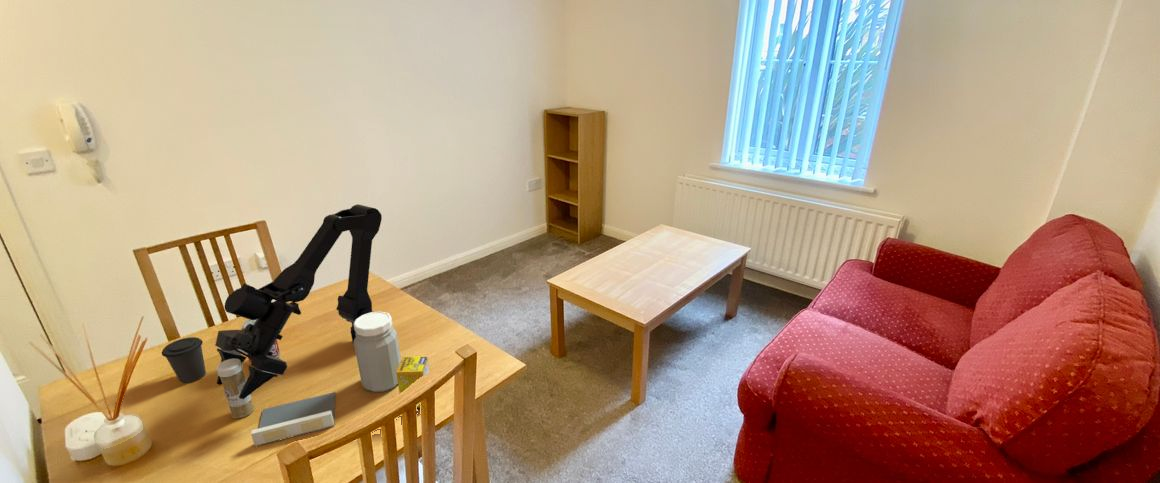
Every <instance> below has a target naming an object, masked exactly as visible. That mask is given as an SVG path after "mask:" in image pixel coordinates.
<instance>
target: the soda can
mask: <svg viewBox="0 0 1160 483" xmlns="http://www.w3.org/2000/svg"><path fill="white" fill-rule="evenodd" d="M256 320H257V319H256ZM256 320H250V319H247V320H246V321H244V322H243V323H242V325H241V327H242V328H241V330H244V329H245V328H246V326H247V325H249V324H252V325H254V323H255V321H256ZM270 351H271V352H273V354H272V357H276V358H279V359H280V357H281V353H280V351H281V350H280V348H279V344H278V339H276V341H275V343H274V344H273V346H272V348H271V349H270ZM249 353H250V352H249ZM247 358H248V357H247ZM248 361H249V363H250V365H251V366H252V359H250V358H248Z"/></svg>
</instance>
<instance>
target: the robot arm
mask: <svg viewBox="0 0 1160 483" xmlns="http://www.w3.org/2000/svg"><path fill="white" fill-rule="evenodd" d="M382 217H383V216H382V213H381V211H379V210H378V209H377V208H375V207H370V206H366V205H363V204H353V205H352V206H351V208H347V209H342V210H339V211H338V212H336V213H333V214H328V215H326V216H325V217H324V219H323V222H322V224H321V226H320V227H318V230H317V231H316V233H315V234H314V236H313V237H312V238H311V239H310V241H309V242H308V243H307V245H306V247H305V248H304V249H303V251H302V252H301V254H300V256H299V257H298V258H297V260H295V261H294V263H292V264H290V265H289V266H287V267H285V268H284V269H283V270H282V271H281V272H280V273H279V274H278V275H277V276H276V278H275V279H273V281H271V282H270V283H266V285H263V286H261V287H260V288H258V289H257V288H256V287H254V286H252V285H250V284H247V283H242V285H241V287H239V288H237V289H235V290H234V291H233V292H231V293H229V294H228V296H227V298H226V299H225V303H224V311H225V312H226V313H228V314H231V315H234V316H238V317H241V318H243V319H247V320H256V319H257V320H256V321H255V323H254V325H252V324H249V325H247V326H246V328H245V329H244V330H242V329H226V330H223V329H222V330H219V331H218V332H217V336H216V340H215V345H214V346H215V347H217V348H216V351H217V352H218V354H219V356H220V358H221V359H220V363H221V362H223V361H225V360H228V359H239V360H241V363H242V364H244V362H245V361H246V359H247V358H250V359H252V365H251V366H250V365H248V366H247V369H248V372H249V375H248V377H247V378H246V383H245V385H244V387H243V389H242V391H241V393H240V396H239V398H240V399H245V398H246V397H247V396H249V395H250V394H252V393H253V392H255V391H256V390H258V389H260V387H262V386H263V385H264V384H266V383H267V382H269V381H270V380H272V379H274V378H277V377H279V375H280V376H283V375H285V374H284V373H285V372H286V370H287V368H288V364H287V363H288V362H287V361H285V360H283V359H281V358H280V357H279V358H276V357H272V354H273V352H271V351H270V349H271V348H272V346H273V344H274V343H275V341H276V339H277V340H280V341H281V340H282V338H283V337H284V336H283V335H282V334H281V332H282V330H283V329H284V327H285V326H286V324H287V322H288V320H289V319H290V317H291V315H292V313H293V314H296V315H297V316H300V315H301V314H302V311H301V309H300V307H299V304H300V303H299V302H301V301H304V300H305V299H306V298H307V297H308V296H309V294H310V293H311V291H312V288H313V286H314V284H315V278H316V273H317V270H318V269H319V268H320V266H321V264H322V262H324V260H325V259H326V257H327V256H328V255H329V253H330V251H331V249H332V248H333V247H334V245H335V244H336V242H337V241H338V239H339V238H340V236H341V235H342V233H343V232H347V231H348V232H349V233H350V235H351V249H350V259H349V261H350V263H349V270H348V281H347V290H346V291H345V292H344V294H343V295H338V296H337V306H336V310H337V312H338V316H340V318H342V319H344V320H346V321H347V322H349V323H351V327H350V334H351V340H352V344H353V345H354V340H355V338H356V335H355V333H356V332H355V330H354V325H353V324H354V322H355V320H356V319H357V318H359V317H360V316H362V315H364V314H367V313H370V312H374V311H373V305H372V304H373V303H372V299H371V297H370V295H369V292H368V288H369V287H368V286H369V276H370V268H371V257H372V256H371V255H372V245H373V240H374V238H375V237H376V235H377V234H378V233H379V231H380V227H381V224H382ZM249 352H250V353H249ZM216 385H217V386H223V385H222V382H221V379H220V377H219V376H218V375H217V378H216Z"/></svg>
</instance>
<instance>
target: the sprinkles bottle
mask: <svg viewBox="0 0 1160 483" xmlns="http://www.w3.org/2000/svg"><path fill="white" fill-rule="evenodd" d="M243 367H244V366H243V363H241V360H239V359H228V360H225V361H223V362H221V361H220V363H218V364H217V365H216V369H215V370H216V372H217V377H218V376H219V377H220V379H221V382H222V385H221V386H222V388H223V391H224V394H225V399H226V401H227V405H228V406H229V410H230V414H231V415H230V416H231V417H232V418H233V419H243V418H246V417H247V416H249V415H250V414H252V413H253V412H254V411H255V405H254V403H253V400H252V396H251V394H252V393H251V394H250V395H249V396H247V397H246V398H245V399H240V398H239V396H240V393H241V391H242V389H243V387H244V385H245V383H246V381H247V378H246V377H245V372H244V370H243Z"/></svg>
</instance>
